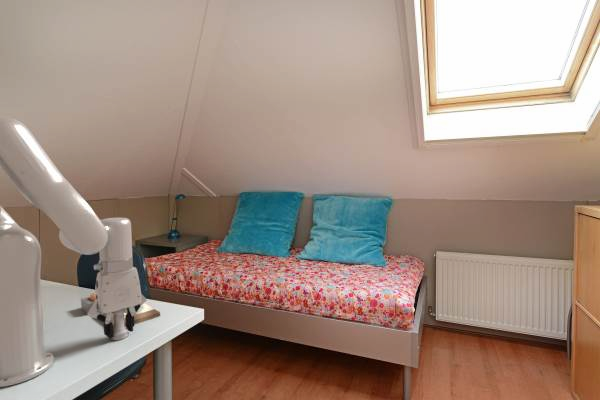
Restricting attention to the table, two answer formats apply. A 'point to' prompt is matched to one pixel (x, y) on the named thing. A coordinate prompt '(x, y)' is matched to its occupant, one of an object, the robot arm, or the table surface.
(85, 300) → the button base
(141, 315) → the board
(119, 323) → the rook chess piece
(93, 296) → the button
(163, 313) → the table surface
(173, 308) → the table surface
